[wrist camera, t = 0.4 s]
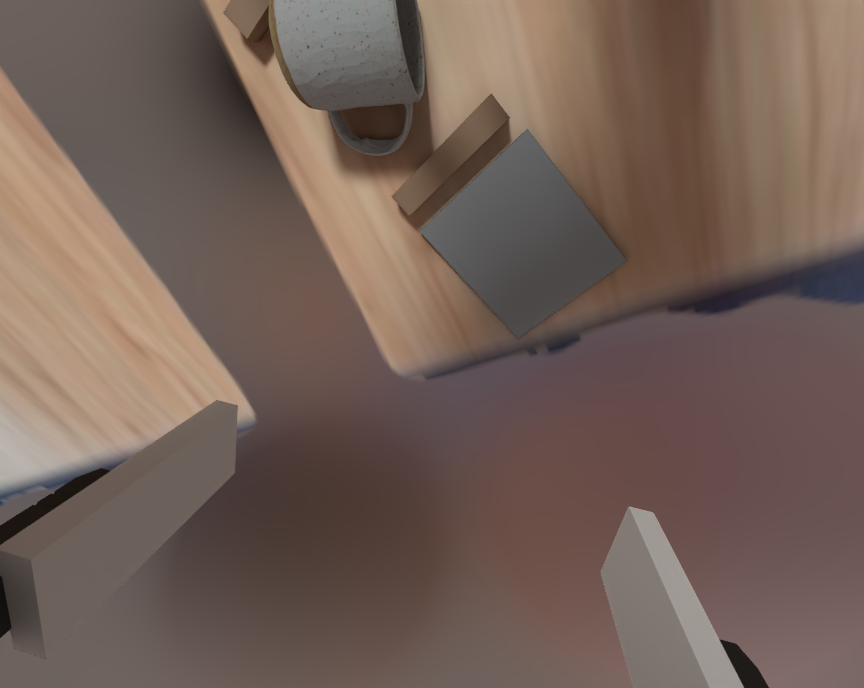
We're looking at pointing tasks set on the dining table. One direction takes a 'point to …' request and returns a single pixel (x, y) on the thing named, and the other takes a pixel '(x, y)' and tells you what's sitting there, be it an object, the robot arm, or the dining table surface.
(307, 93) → the ceramic mug
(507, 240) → the slate mat
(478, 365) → the dining table surface
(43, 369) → the dining table surface
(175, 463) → the robot arm
